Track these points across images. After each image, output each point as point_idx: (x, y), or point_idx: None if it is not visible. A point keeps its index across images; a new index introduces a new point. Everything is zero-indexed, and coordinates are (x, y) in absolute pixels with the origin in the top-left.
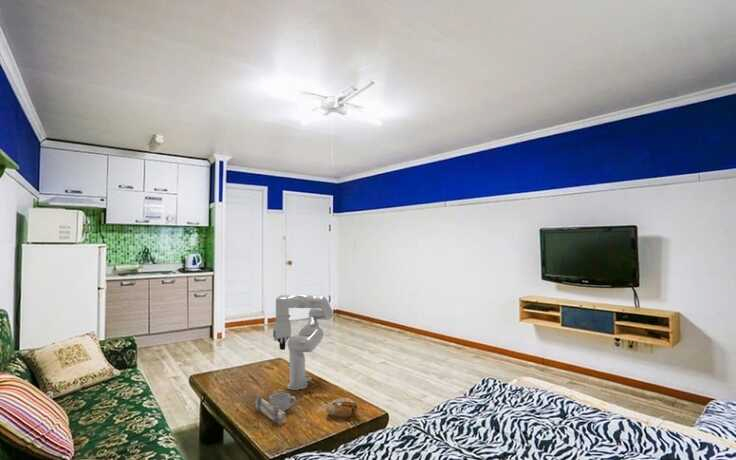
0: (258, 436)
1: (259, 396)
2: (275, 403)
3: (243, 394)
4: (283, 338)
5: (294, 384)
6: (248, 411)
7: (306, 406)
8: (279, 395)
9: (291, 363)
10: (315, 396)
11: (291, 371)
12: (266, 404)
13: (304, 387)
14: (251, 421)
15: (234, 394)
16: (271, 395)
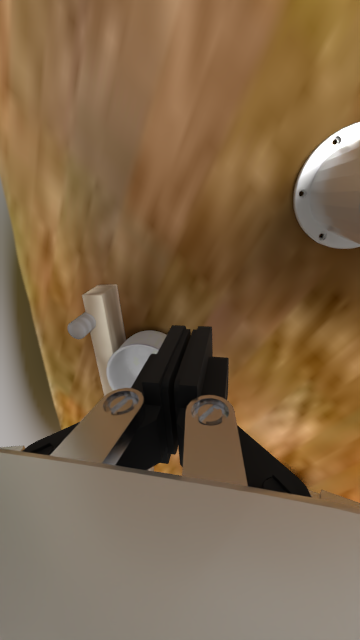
0: (68, 416)
1: (76, 336)
2: (121, 385)
3: (92, 90)
4: (205, 476)
5: (318, 220)
6: (74, 286)
7: (235, 385)
8: (157, 346)
9: (357, 203)
10: (317, 349)
11: (335, 200)
12: (101, 358)
13: (354, 247)
14: (69, 349)
15: (55, 52)
16: (119, 351)
